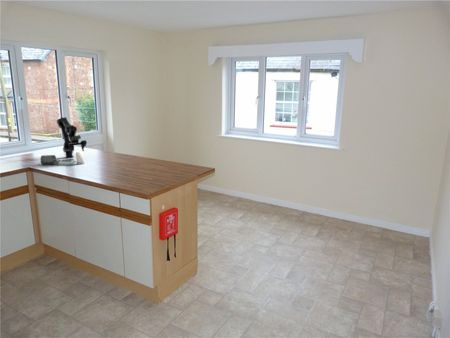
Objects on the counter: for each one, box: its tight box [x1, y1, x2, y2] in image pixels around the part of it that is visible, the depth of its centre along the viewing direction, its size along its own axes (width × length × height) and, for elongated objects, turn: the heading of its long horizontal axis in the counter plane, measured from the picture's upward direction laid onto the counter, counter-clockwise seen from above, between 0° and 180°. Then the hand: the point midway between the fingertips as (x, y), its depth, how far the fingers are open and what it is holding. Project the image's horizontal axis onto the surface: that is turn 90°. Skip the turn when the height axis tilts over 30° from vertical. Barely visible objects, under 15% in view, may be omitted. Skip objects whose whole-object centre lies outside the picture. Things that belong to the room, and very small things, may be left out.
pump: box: [75, 151, 85, 166], centre depth 295 cm, size 6×6×10 cm
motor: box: [40, 154, 77, 167], centre depth 295 cm, size 12×26×8 cm, turn 98°
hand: (78, 151), depth 296 cm, fingers open, 9 cm apart
